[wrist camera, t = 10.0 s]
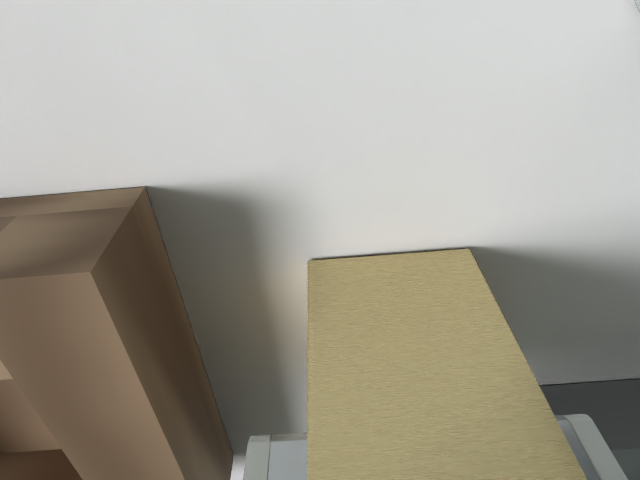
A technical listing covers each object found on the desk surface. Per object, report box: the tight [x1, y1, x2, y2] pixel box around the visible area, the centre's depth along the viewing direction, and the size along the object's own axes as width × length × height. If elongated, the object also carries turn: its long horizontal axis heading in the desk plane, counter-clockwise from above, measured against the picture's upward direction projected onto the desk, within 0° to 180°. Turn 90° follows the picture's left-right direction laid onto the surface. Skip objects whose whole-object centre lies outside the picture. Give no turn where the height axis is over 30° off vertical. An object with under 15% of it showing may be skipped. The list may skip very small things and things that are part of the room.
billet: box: [307, 249, 587, 480], centre depth 11 cm, size 4×4×8 cm
